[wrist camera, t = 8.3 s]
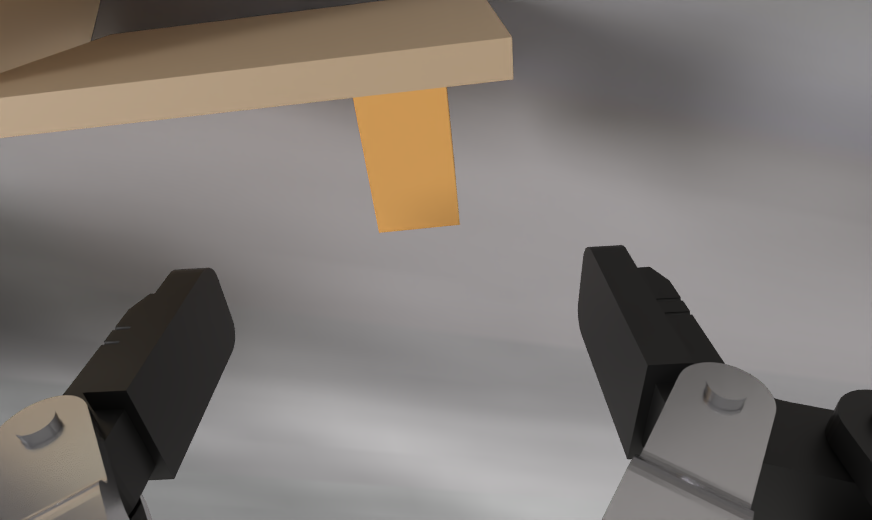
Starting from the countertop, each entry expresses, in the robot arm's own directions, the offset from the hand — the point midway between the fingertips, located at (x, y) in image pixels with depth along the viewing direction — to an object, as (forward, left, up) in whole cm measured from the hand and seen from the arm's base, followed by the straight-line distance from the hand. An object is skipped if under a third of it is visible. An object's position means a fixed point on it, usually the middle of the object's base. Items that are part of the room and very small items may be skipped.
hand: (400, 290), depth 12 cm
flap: (-5, -2, -15) cm, 16 cm away
